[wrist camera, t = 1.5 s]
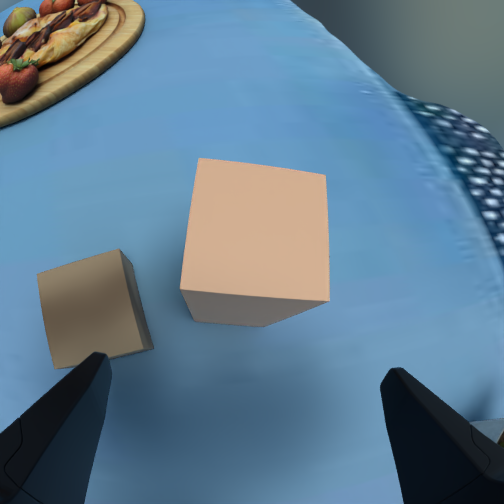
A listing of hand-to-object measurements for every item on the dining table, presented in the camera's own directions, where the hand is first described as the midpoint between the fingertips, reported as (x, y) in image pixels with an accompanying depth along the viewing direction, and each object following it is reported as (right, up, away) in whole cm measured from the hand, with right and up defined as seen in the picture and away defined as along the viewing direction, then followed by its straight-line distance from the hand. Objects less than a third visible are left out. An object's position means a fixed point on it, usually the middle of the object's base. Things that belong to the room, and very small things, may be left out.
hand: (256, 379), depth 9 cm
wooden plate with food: (-30, +33, +21) cm, 49 cm away
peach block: (-2, +1, +14) cm, 14 cm away
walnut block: (-11, -1, +12) cm, 16 cm away
